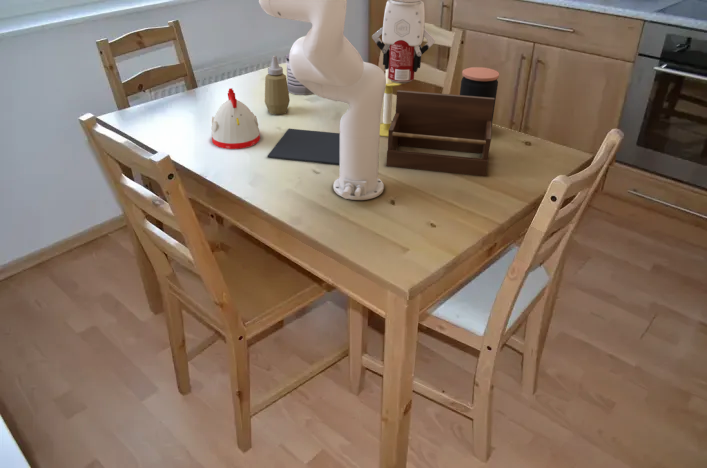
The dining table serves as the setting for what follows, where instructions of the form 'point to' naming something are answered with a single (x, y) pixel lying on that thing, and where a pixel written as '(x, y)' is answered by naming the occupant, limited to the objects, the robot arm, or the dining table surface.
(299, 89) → the can
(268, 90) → the squeeze bottle
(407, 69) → the soda can
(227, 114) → the kitchen timer
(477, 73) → the coffee jar
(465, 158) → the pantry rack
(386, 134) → the candle
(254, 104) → the dining table surface
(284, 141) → the mat
